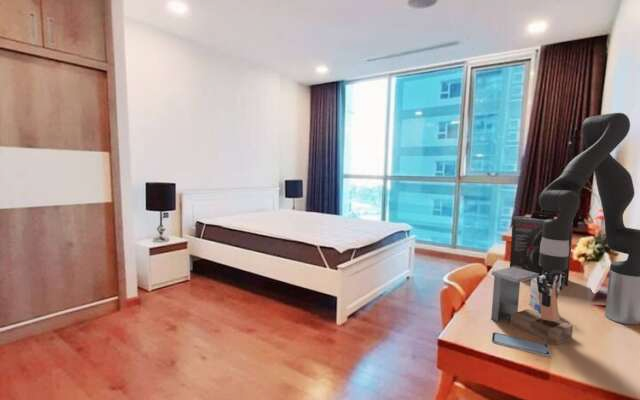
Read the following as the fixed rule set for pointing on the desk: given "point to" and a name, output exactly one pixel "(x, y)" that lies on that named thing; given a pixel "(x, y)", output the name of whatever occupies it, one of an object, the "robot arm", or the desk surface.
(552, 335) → the socket block
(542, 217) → the headset box
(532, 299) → the ink box
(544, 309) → the peg
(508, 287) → the panel
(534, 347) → the smartphone
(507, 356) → the desk surface
